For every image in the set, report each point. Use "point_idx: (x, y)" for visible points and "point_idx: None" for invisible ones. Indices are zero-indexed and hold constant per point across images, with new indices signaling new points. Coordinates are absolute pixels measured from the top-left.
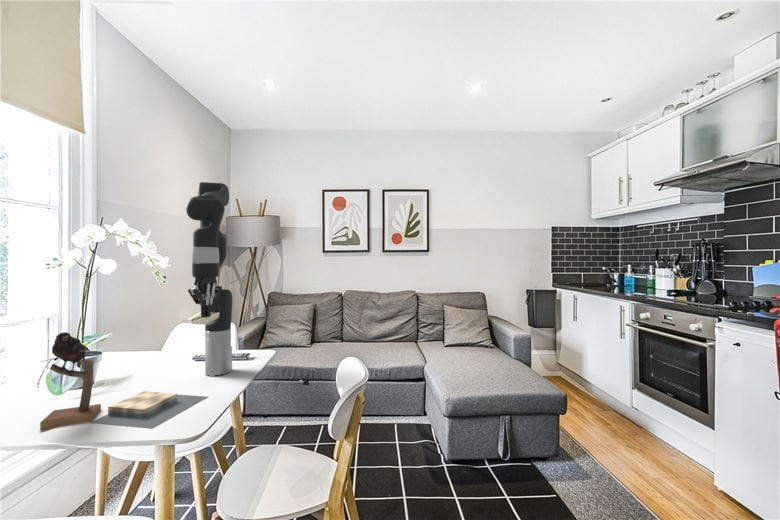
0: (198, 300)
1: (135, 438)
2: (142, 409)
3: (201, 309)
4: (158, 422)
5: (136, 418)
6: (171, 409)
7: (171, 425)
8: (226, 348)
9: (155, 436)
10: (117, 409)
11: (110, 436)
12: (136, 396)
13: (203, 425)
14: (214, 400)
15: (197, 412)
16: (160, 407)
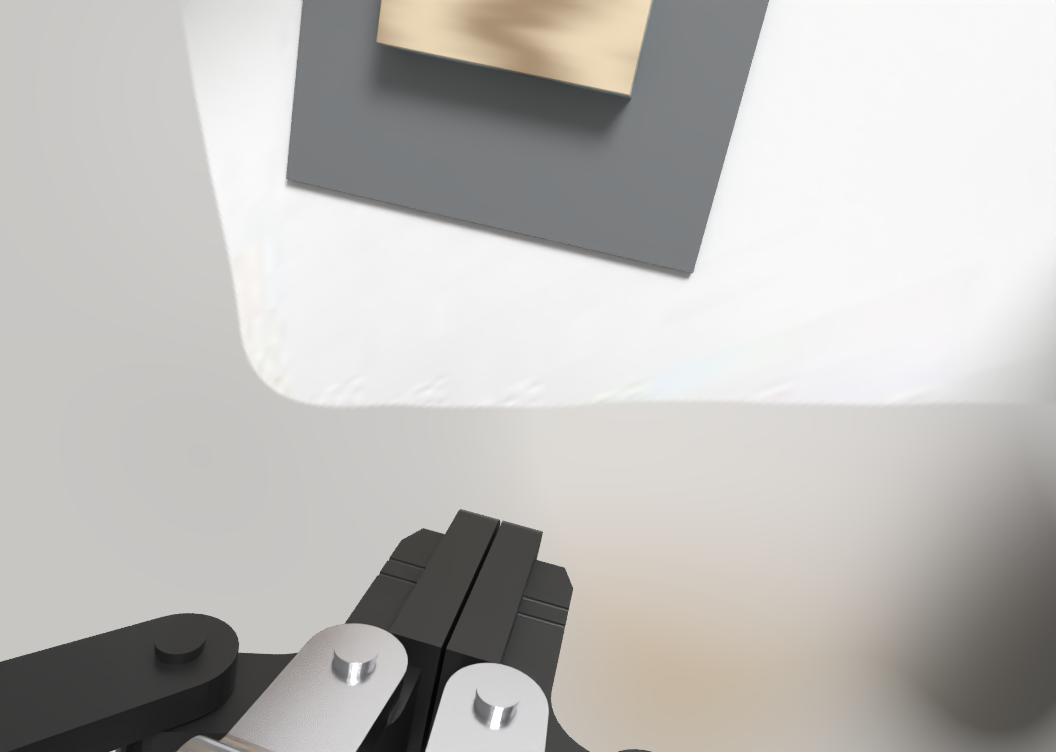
0: (121, 738)
1: (215, 149)
2: (378, 27)
3: (364, 604)
4: (347, 167)
5: None
6: (505, 139)
7: (339, 244)
8: None
9: (238, 231)
10: None
11: (221, 4)
12: None
13: (345, 394)
14: (649, 322)
15: (484, 300)
16: (499, 69)
